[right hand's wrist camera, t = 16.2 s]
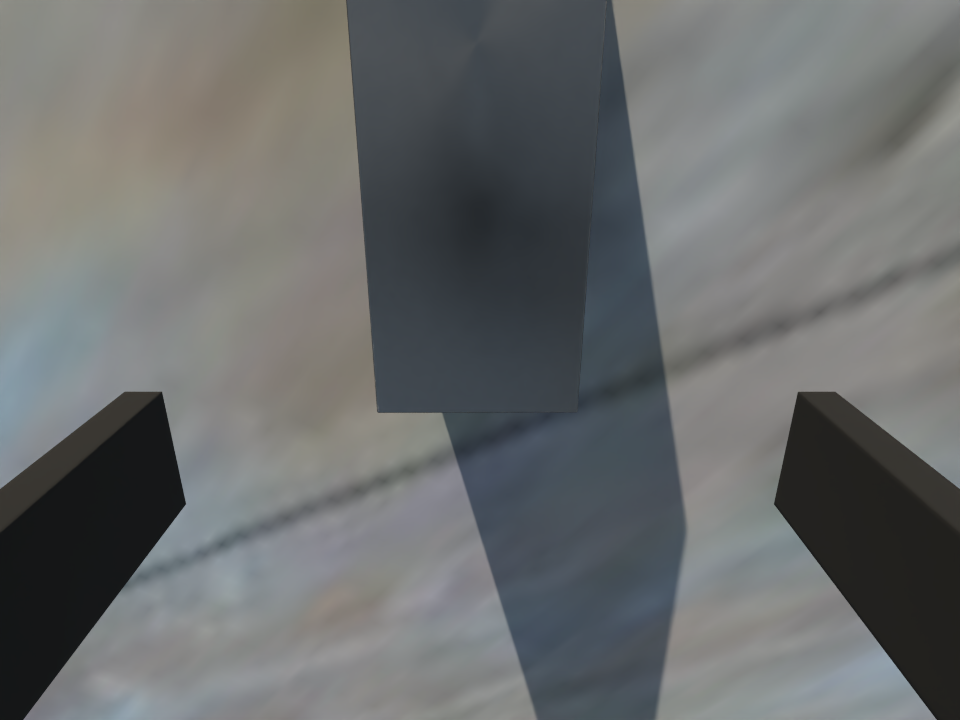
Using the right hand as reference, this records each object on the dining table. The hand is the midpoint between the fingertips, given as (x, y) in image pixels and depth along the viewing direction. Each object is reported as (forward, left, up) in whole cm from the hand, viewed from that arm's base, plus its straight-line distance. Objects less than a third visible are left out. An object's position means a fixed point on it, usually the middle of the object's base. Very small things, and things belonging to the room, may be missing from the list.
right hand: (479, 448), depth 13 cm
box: (+5, -6, -17) cm, 19 cm away
